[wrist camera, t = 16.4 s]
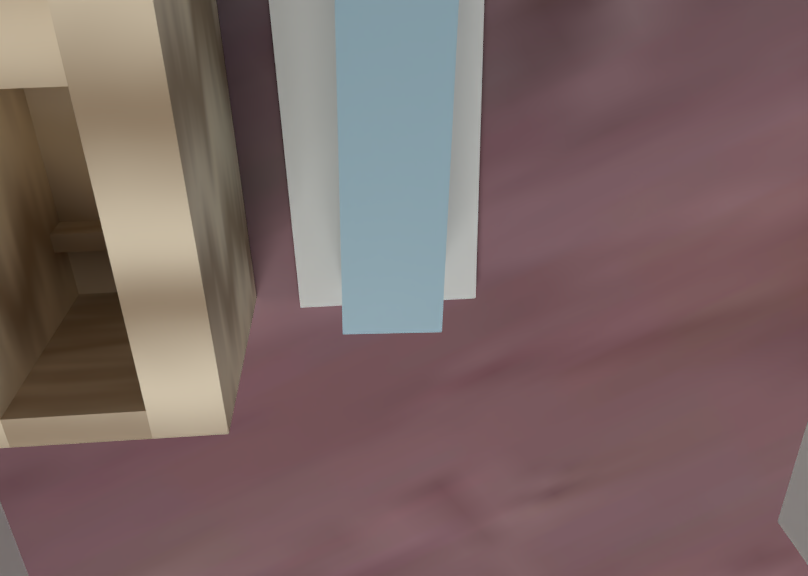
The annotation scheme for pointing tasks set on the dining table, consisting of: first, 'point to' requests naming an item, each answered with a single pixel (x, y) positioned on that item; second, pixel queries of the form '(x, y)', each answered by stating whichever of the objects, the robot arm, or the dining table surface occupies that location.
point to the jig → (118, 224)
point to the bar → (394, 160)
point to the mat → (318, 146)
